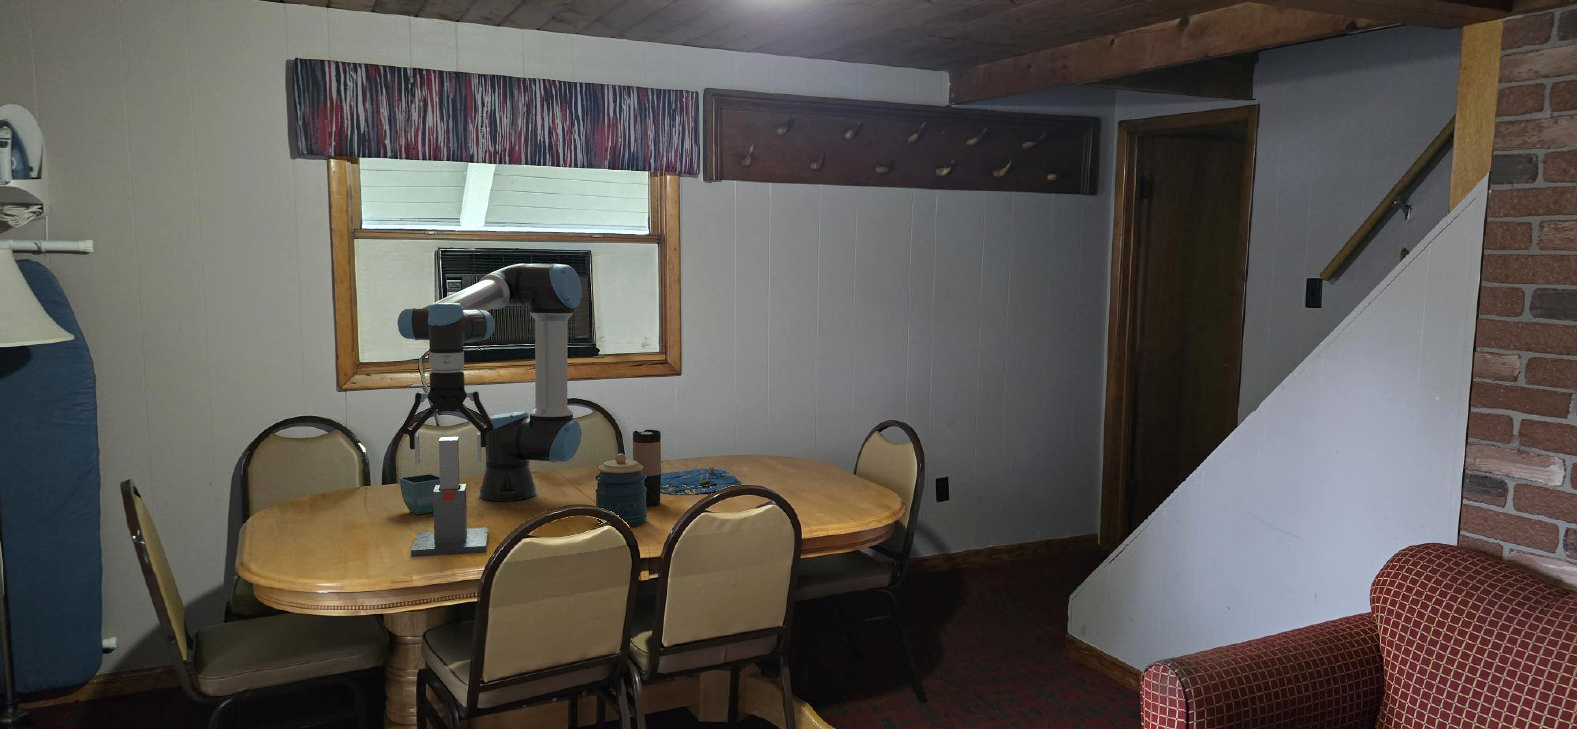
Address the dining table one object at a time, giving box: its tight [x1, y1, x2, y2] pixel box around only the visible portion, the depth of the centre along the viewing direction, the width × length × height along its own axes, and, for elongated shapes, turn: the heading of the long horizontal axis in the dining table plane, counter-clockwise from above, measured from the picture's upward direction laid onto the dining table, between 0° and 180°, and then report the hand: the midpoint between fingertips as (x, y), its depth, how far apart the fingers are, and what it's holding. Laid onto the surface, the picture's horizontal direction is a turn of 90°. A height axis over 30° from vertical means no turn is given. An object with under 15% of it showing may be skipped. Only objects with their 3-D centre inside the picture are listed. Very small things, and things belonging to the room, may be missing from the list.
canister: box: [594, 453, 648, 528], centre depth 257 cm, size 13×13×18 cm
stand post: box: [438, 436, 461, 491], centre depth 235 cm, size 4×4×23 cm
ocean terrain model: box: [660, 465, 741, 495], centre depth 302 cm, size 30×30×5 cm
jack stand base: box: [410, 483, 489, 558], centre depth 236 cm, size 16×16×14 cm
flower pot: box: [398, 473, 440, 515], centre depth 266 cm, size 9×9×9 cm
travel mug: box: [632, 429, 662, 508], centre depth 276 cm, size 8×8×20 cm
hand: (448, 462), depth 234 cm, fingers open, 13 cm apart
